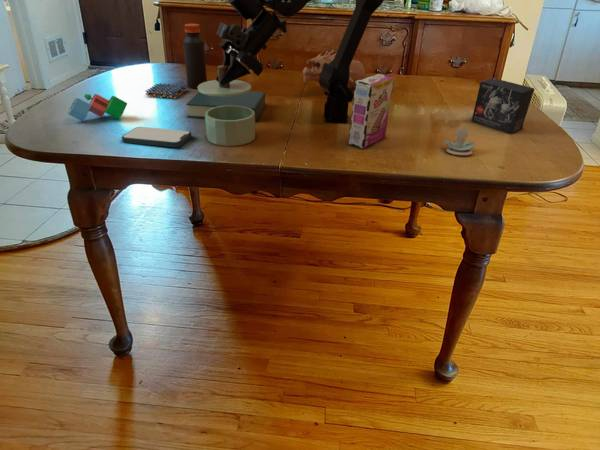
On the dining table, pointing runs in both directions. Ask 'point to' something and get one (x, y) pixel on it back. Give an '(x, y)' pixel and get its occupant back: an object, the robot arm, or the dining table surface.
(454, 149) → the pacifier
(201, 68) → the bottle
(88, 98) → the building blocks
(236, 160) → the dining table surface
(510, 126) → the small box
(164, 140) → the smartphone
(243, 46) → the robot arm
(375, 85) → the candy bar box
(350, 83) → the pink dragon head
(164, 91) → the woven mat
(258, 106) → the book
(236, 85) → the cover
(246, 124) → the dish
